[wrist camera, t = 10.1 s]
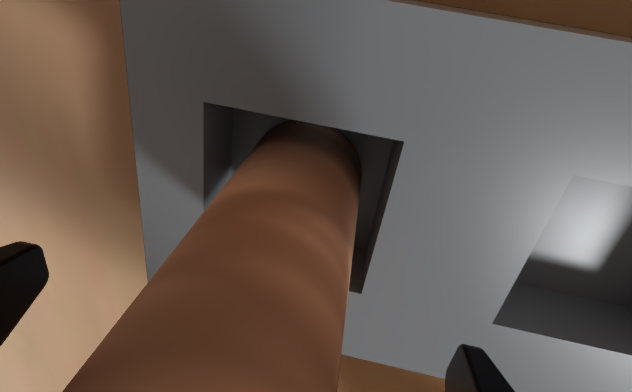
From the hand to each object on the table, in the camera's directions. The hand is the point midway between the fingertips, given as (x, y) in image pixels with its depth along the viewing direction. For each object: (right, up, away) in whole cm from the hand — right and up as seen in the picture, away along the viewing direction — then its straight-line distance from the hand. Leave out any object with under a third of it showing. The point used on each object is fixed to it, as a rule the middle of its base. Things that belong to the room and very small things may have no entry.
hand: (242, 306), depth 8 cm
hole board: (+6, +3, +7) cm, 10 cm away
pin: (+1, +3, +6) cm, 7 cm away
